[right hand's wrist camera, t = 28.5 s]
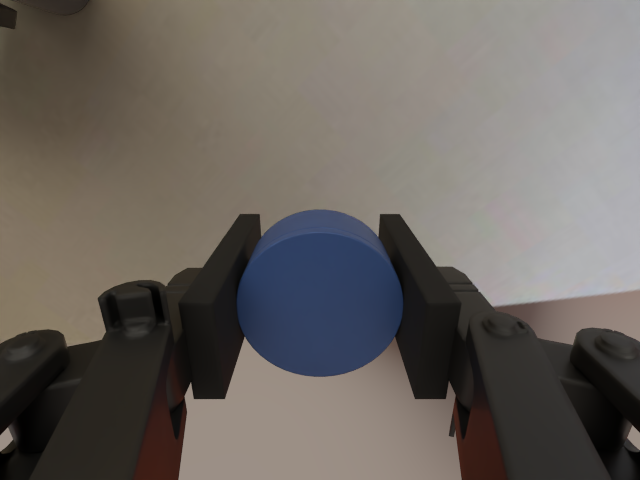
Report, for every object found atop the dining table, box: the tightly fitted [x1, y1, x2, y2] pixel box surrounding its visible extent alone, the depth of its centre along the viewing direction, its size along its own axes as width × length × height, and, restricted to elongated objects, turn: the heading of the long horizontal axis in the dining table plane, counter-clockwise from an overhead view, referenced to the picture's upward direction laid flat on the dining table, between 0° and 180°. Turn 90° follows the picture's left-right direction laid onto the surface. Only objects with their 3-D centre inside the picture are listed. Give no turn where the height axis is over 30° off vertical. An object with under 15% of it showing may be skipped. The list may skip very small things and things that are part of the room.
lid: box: [236, 210, 403, 377], centre depth 11 cm, size 5×5×2 cm
